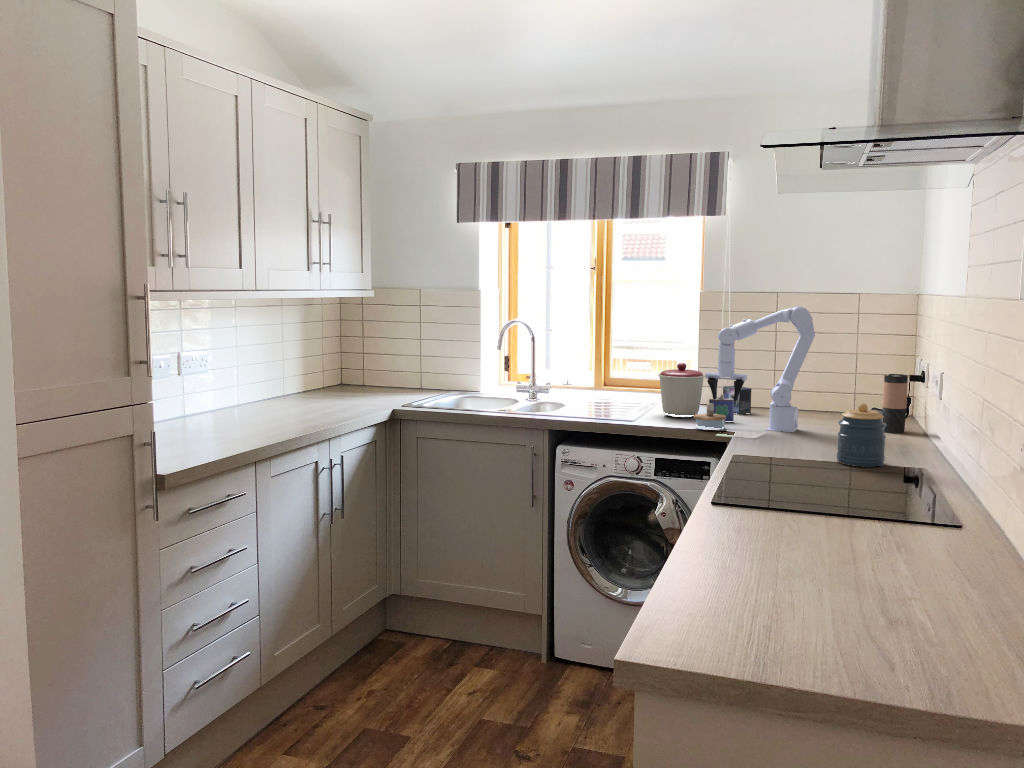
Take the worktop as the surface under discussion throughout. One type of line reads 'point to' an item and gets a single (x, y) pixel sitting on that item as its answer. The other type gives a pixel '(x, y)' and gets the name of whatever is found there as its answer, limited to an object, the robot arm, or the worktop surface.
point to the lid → (710, 414)
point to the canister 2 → (861, 437)
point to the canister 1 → (681, 390)
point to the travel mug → (895, 402)
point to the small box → (739, 399)
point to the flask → (724, 407)
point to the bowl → (710, 423)
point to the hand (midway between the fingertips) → (725, 399)
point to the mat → (724, 435)
